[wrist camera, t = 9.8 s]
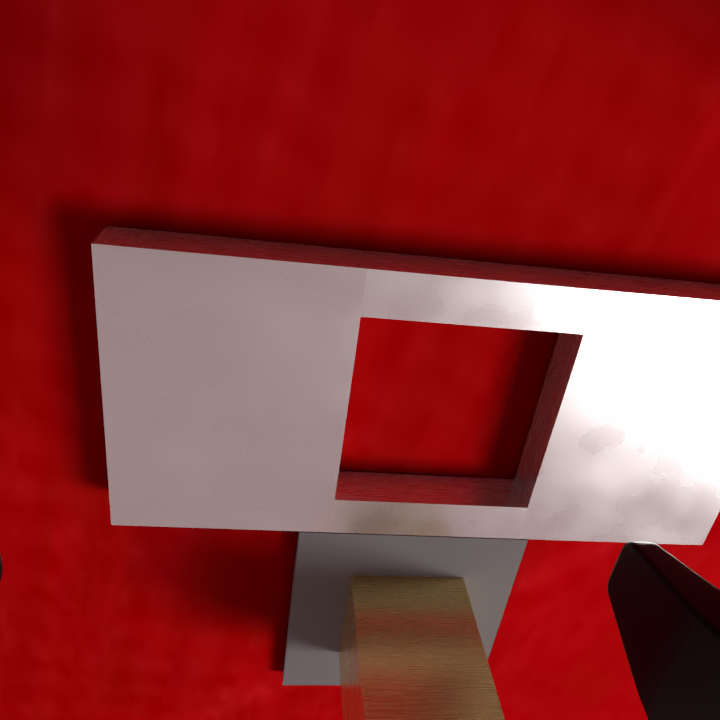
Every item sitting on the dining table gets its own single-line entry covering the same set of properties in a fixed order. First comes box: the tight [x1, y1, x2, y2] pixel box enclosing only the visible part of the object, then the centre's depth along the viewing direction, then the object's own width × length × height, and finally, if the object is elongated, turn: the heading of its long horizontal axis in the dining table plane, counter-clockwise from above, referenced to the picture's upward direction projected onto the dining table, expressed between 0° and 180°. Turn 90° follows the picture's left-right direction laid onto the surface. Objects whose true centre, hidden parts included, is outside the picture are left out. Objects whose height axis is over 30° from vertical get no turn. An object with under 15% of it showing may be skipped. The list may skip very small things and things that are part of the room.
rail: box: [91, 226, 720, 545], centre depth 22 cm, size 22×10×2 cm, turn 83°
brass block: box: [338, 575, 505, 720], centre depth 24 cm, size 5×5×7 cm
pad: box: [283, 531, 528, 685], centre depth 27 cm, size 9×9×1 cm
